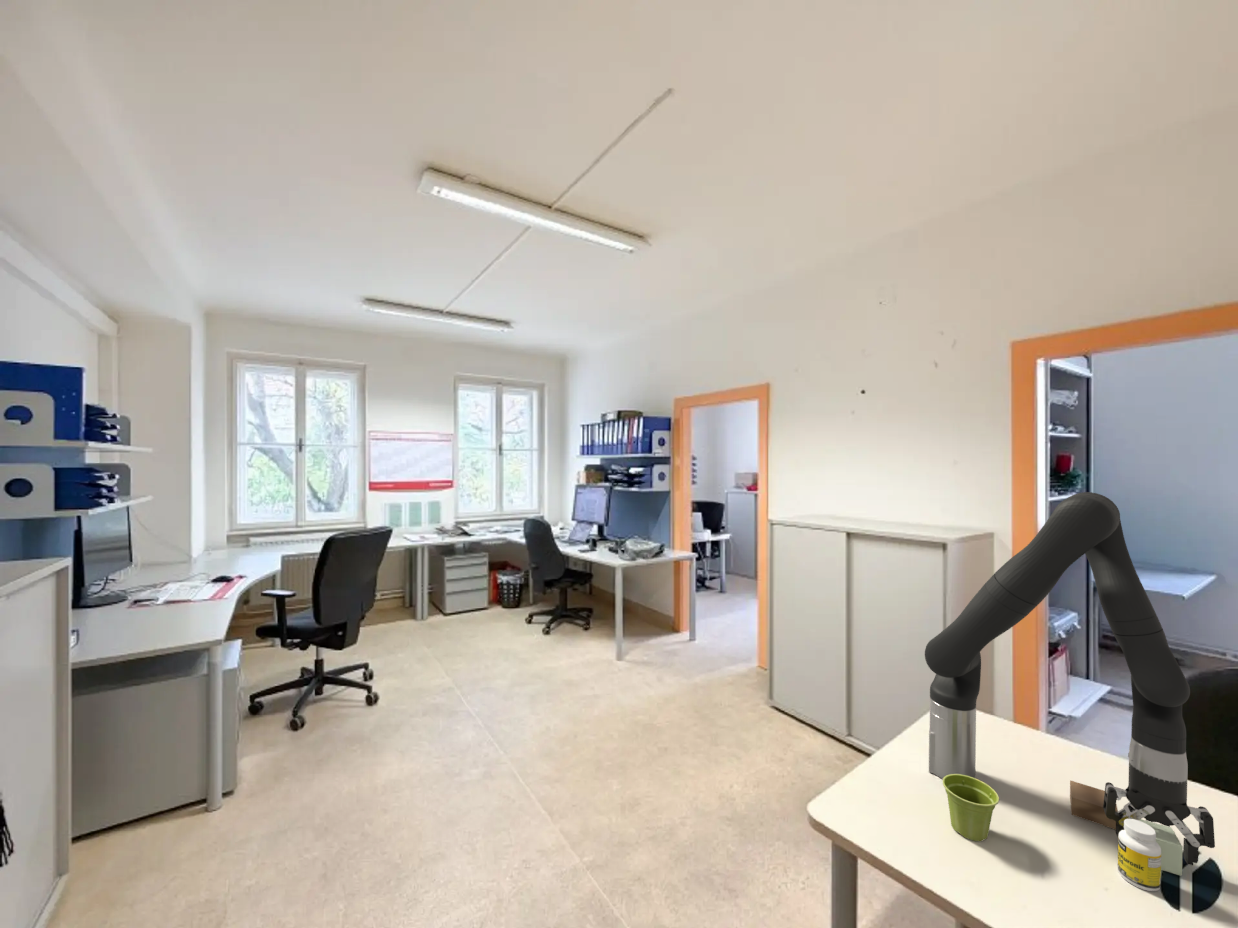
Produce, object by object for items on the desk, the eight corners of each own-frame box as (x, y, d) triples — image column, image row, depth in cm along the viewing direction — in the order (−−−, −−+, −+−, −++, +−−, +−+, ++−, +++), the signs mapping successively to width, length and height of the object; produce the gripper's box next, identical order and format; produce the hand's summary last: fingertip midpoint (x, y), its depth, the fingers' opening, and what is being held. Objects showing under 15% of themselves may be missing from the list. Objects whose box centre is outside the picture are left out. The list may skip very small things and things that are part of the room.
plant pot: (988, 819, 106) (988, 778, 106) (1006, 853, 97) (1006, 809, 97) (936, 809, 109) (937, 769, 109) (949, 841, 100) (949, 798, 100)
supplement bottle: (1108, 868, 94) (1110, 816, 93) (1135, 866, 94) (1136, 814, 94) (1141, 893, 88) (1142, 838, 88) (1169, 891, 89) (1171, 836, 88)
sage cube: (1139, 863, 95) (1140, 834, 95) (1130, 843, 99) (1131, 816, 99) (1181, 876, 92) (1182, 846, 92) (1170, 855, 96) (1171, 827, 96)
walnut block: (1071, 815, 107) (1071, 797, 107) (1069, 797, 113) (1070, 780, 113) (1117, 831, 103) (1118, 811, 103) (1113, 811, 108) (1114, 793, 108)
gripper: (1110, 765, 96) (1108, 849, 96) (1222, 792, 88) (1220, 883, 89) (1100, 745, 102) (1099, 824, 103) (1204, 769, 94) (1202, 854, 95)
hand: (1155, 851), depth 96 cm, fingers open, 8 cm apart
